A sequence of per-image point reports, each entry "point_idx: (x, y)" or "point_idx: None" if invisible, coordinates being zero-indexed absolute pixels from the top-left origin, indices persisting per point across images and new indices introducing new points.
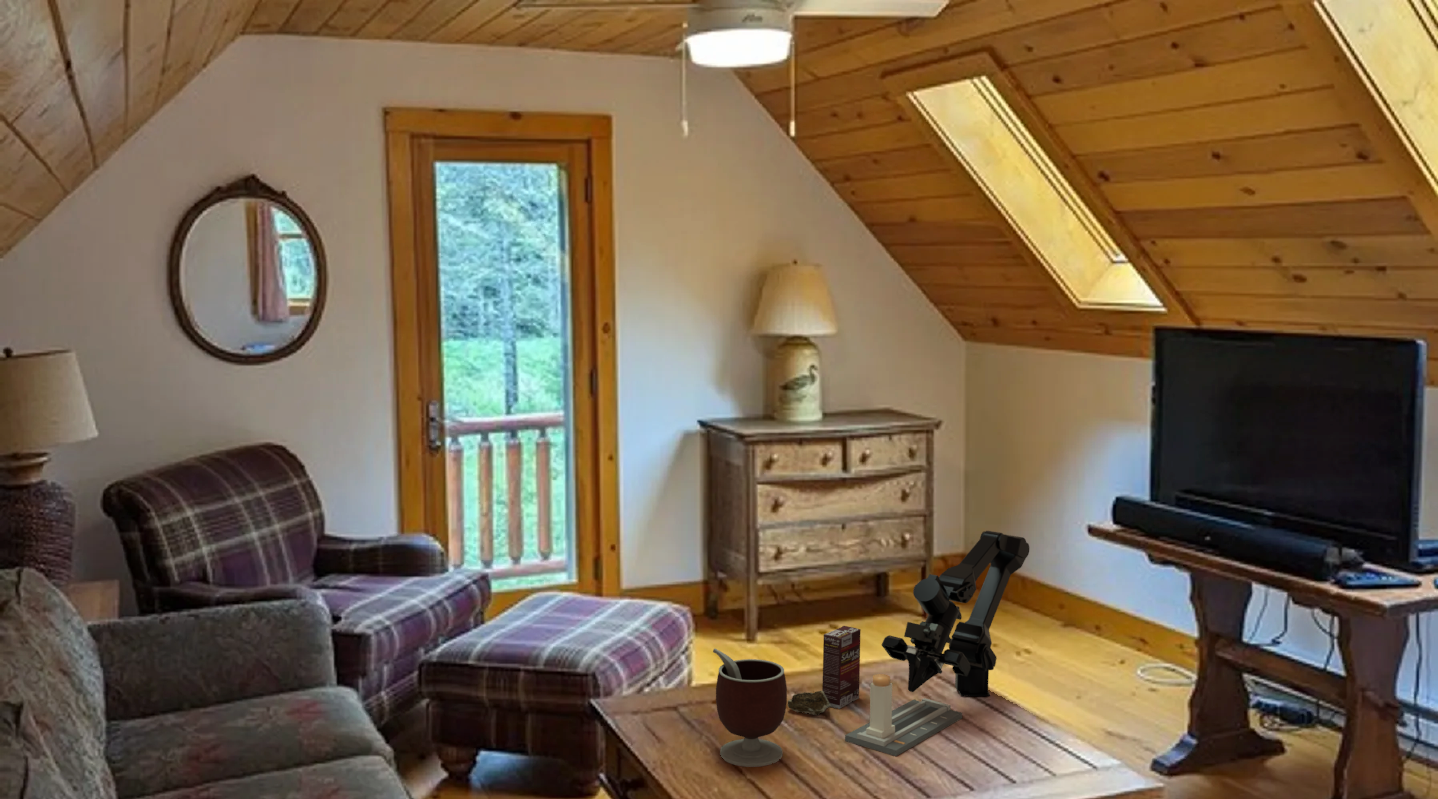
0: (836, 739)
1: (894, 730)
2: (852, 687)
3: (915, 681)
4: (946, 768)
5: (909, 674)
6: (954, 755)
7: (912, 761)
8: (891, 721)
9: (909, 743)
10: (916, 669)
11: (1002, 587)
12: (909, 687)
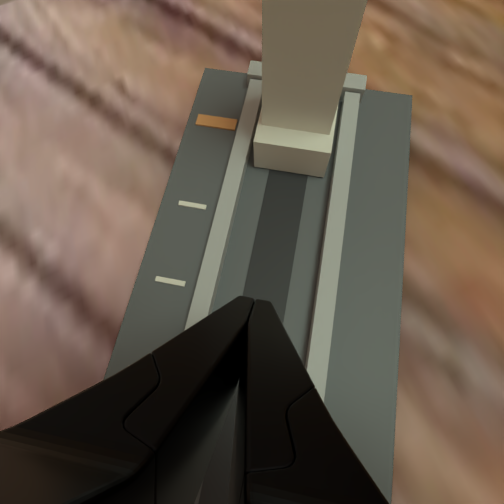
0: (434, 110)
1: (254, 151)
2: None
3: (206, 321)
4: (44, 79)
5: (300, 376)
6: (31, 168)
7: (151, 77)
8: (262, 106)
9: (183, 137)
10: (234, 499)
11: None
12: (259, 302)
